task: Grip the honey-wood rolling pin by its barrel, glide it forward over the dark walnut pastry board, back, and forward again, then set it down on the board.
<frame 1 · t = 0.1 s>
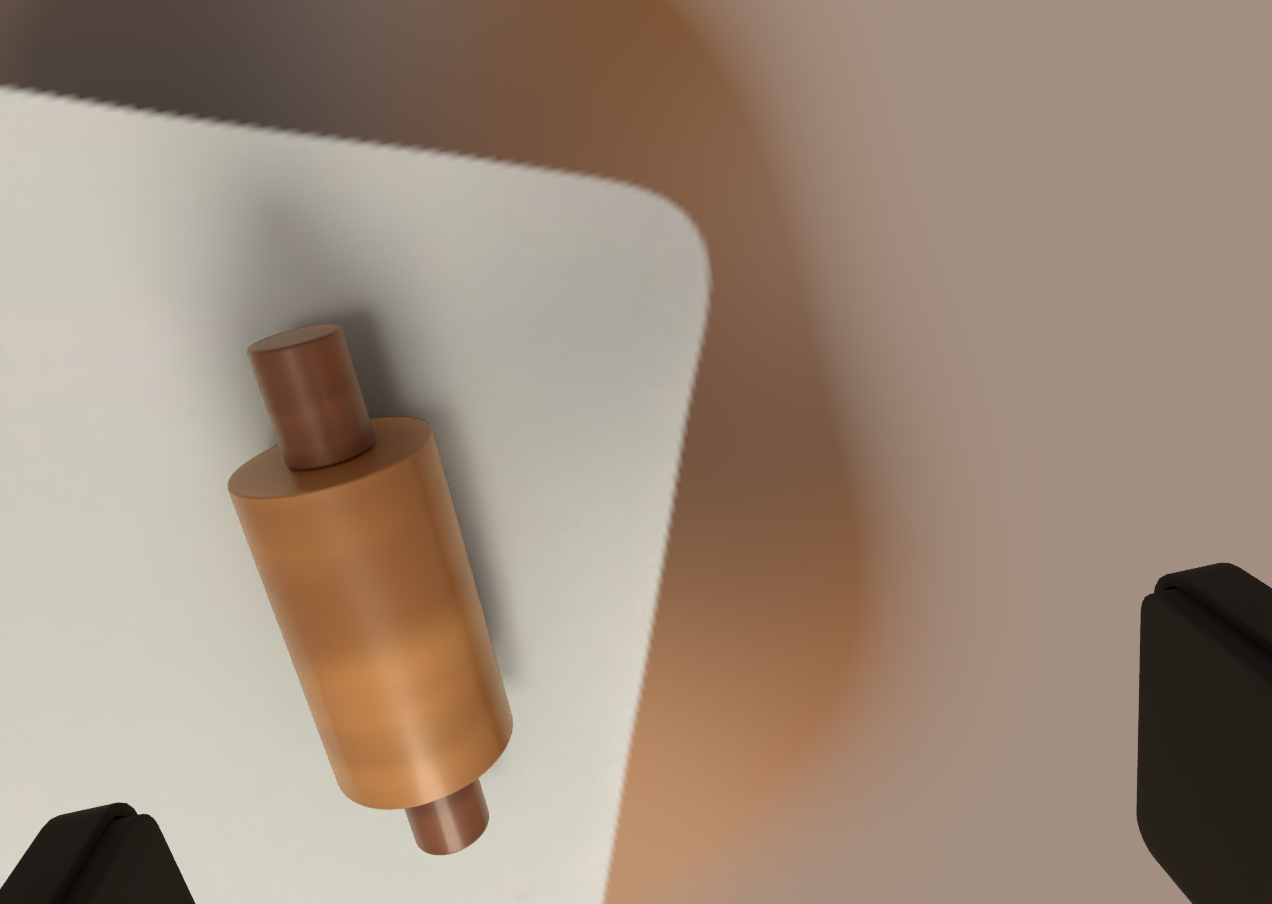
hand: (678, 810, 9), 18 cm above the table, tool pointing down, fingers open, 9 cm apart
rolling pin: (382, 608, 24), point 2 cm above the table
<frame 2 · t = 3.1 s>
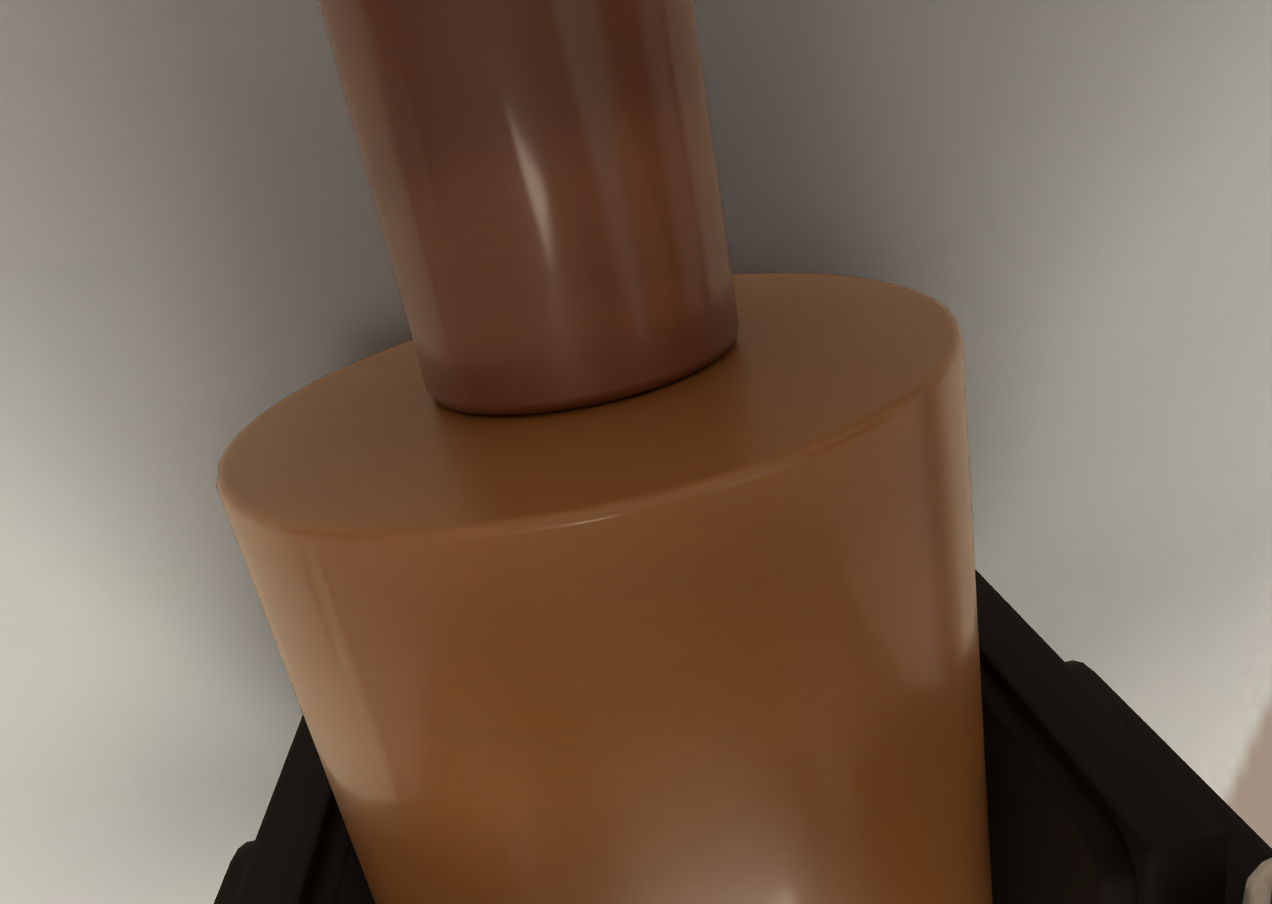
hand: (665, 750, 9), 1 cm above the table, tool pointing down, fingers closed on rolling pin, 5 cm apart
rolling pin: (686, 849, 8), point 2 cm above the table, touching gripper
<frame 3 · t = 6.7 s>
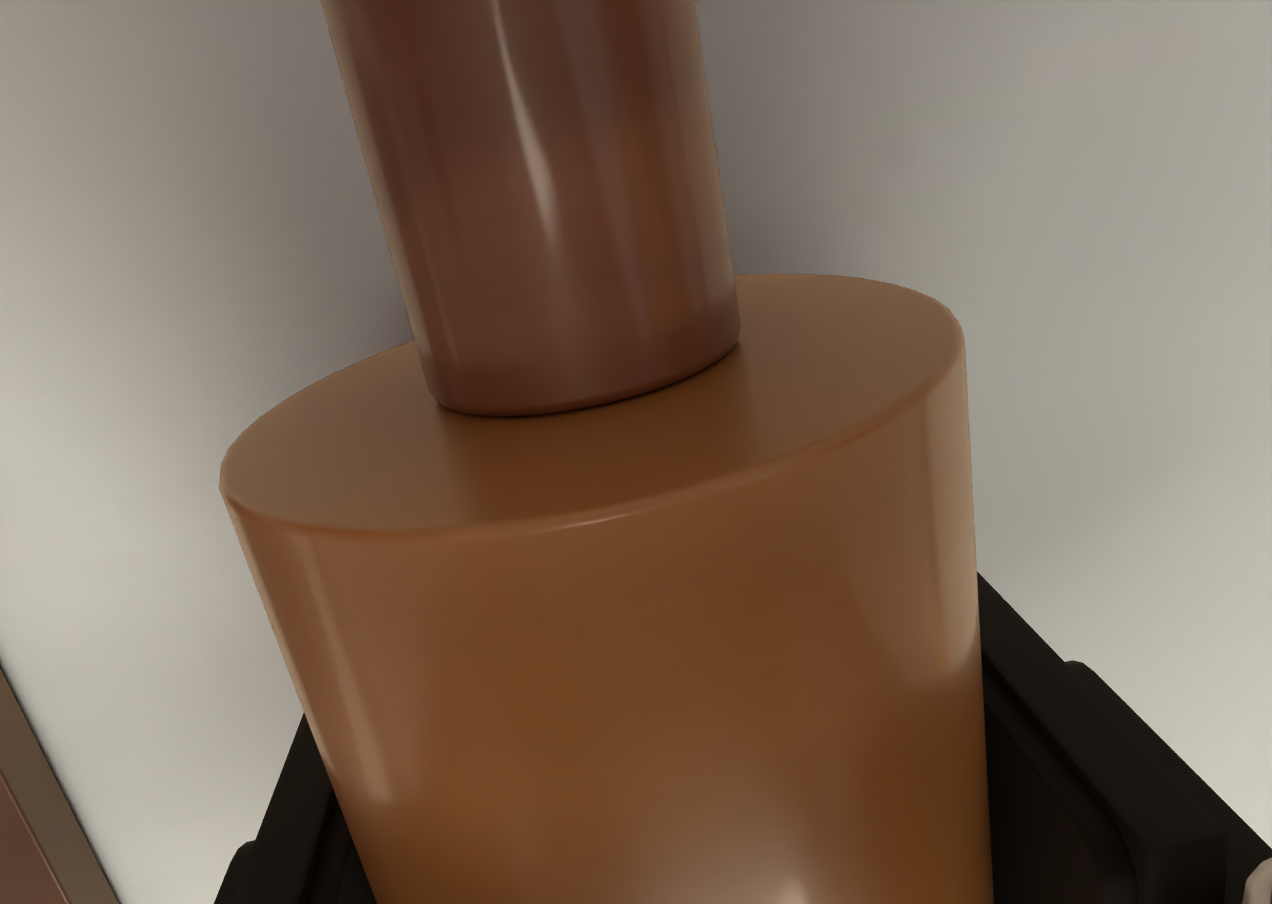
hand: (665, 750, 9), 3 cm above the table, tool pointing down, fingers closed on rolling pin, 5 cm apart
rolling pin: (688, 849, 8), point 4 cm above the table, touching gripper
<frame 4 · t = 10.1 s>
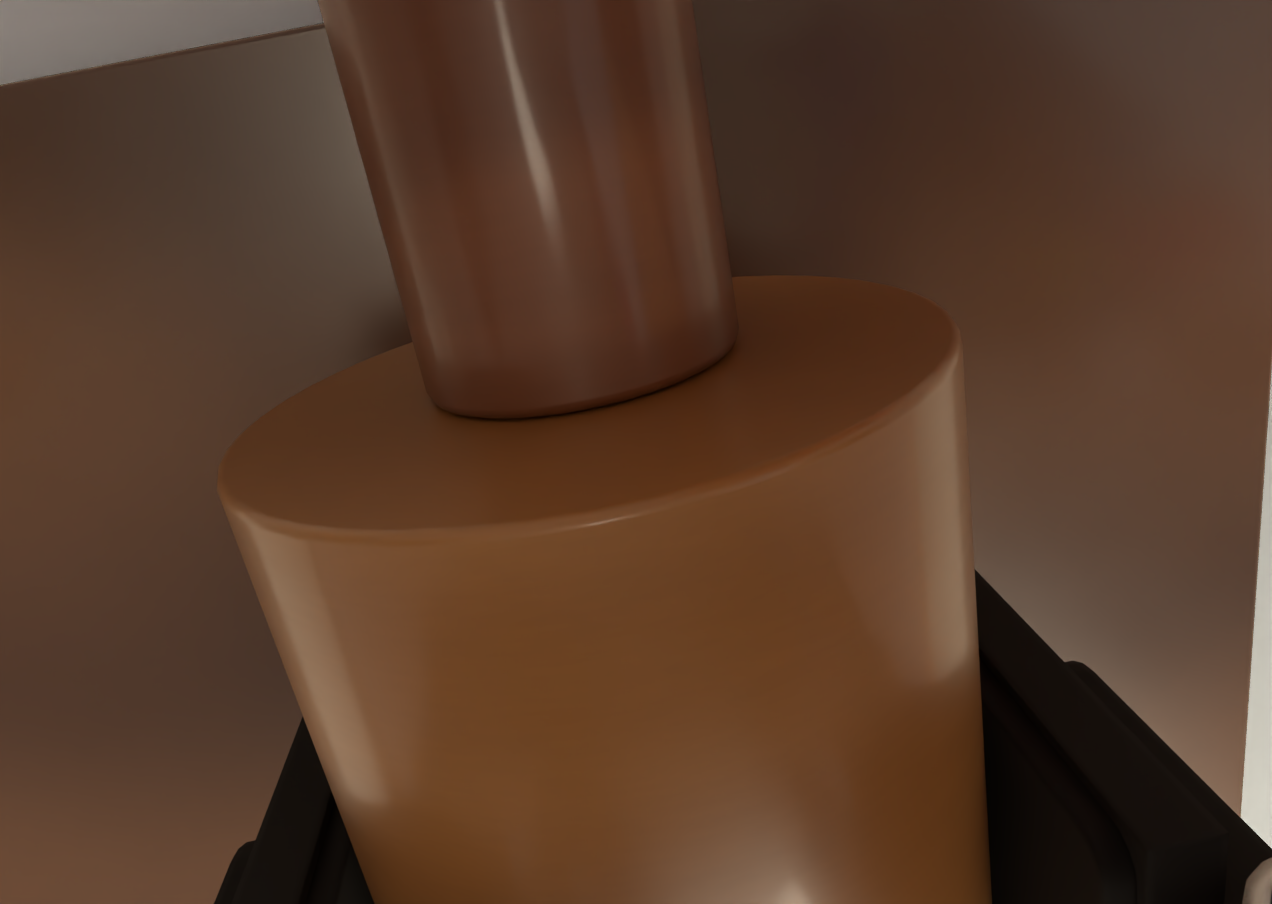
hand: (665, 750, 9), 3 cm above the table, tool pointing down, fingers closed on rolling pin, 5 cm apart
rolling pin: (686, 851, 8), point 4 cm above the table, touching gripper
pastry board: (600, 629, 12), on the table
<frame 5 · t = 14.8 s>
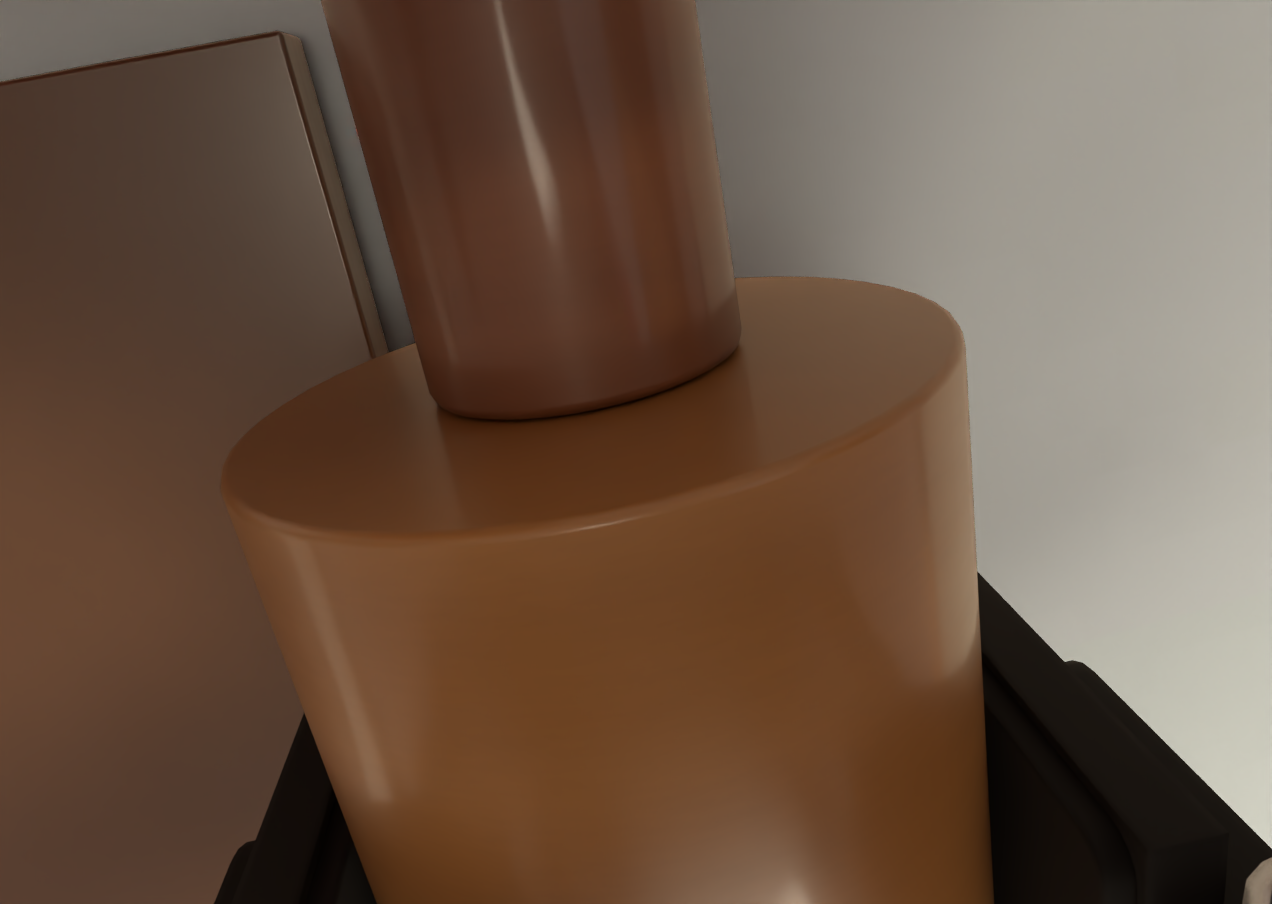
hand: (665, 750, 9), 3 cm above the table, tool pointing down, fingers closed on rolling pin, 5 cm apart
rolling pin: (688, 852, 8), point 4 cm above the table, touching gripper
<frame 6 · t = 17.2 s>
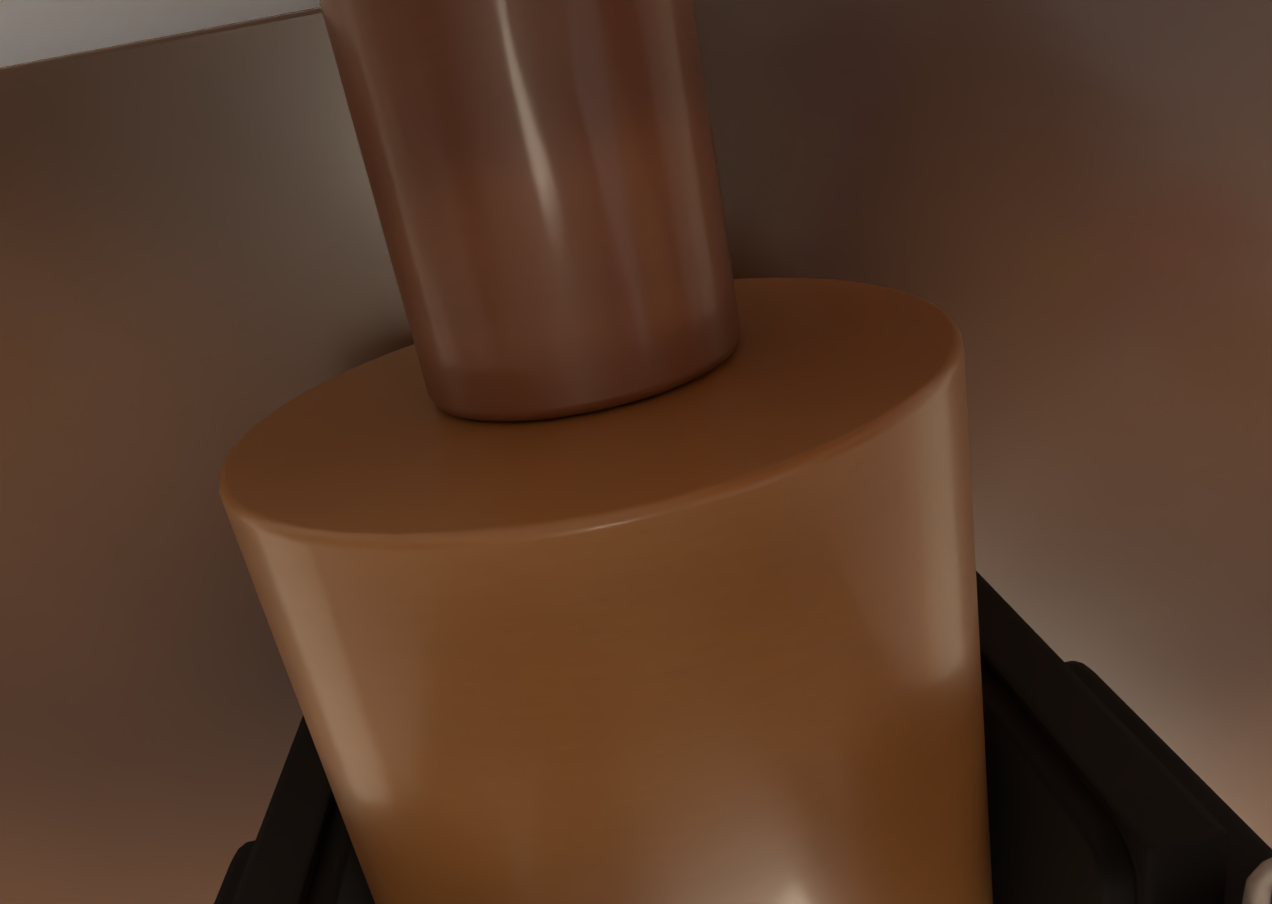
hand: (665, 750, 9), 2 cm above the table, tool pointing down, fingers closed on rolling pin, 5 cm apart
rolling pin: (687, 853, 8), point 3 cm above the table, touching gripper
pastry board: (638, 657, 11), on the table
when the fingers open (2 cm above the table, at t = 17.6 s): rolling pin moves 2 cm and tips over, resting on pastry board.
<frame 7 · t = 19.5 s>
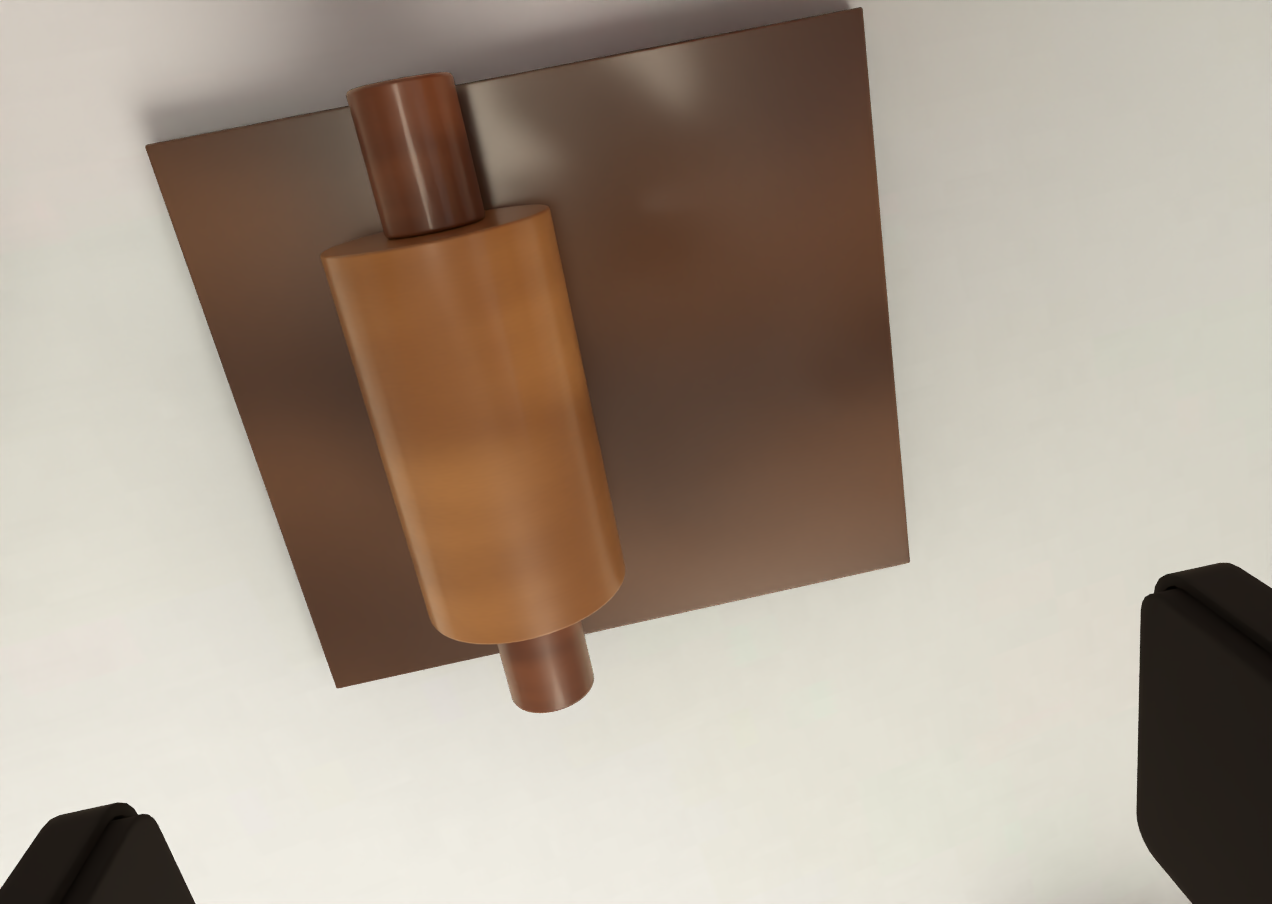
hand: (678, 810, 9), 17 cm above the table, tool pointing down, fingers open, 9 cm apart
rolling pin: (485, 421, 22), point 3 cm above the table, tilted 56°, touching pastry board
pastry board: (573, 372, 25), on the table
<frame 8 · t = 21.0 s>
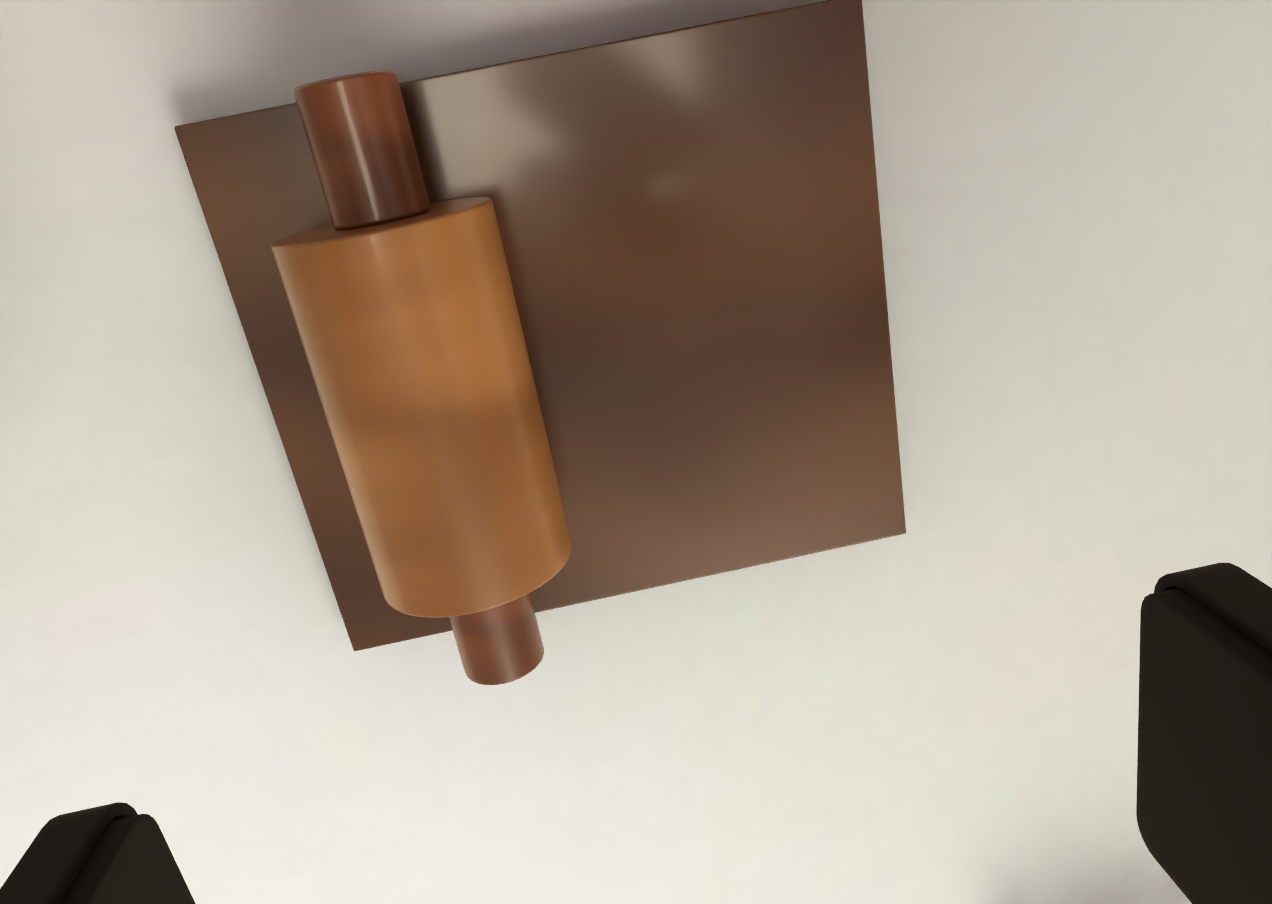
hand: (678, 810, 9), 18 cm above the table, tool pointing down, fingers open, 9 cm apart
rolling pin: (434, 405, 22), point 3 cm above the table, tilted 92°, touching pastry board
pastry board: (582, 347, 26), on the table
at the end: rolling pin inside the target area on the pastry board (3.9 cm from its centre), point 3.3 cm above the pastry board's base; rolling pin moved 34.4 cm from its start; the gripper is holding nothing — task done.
